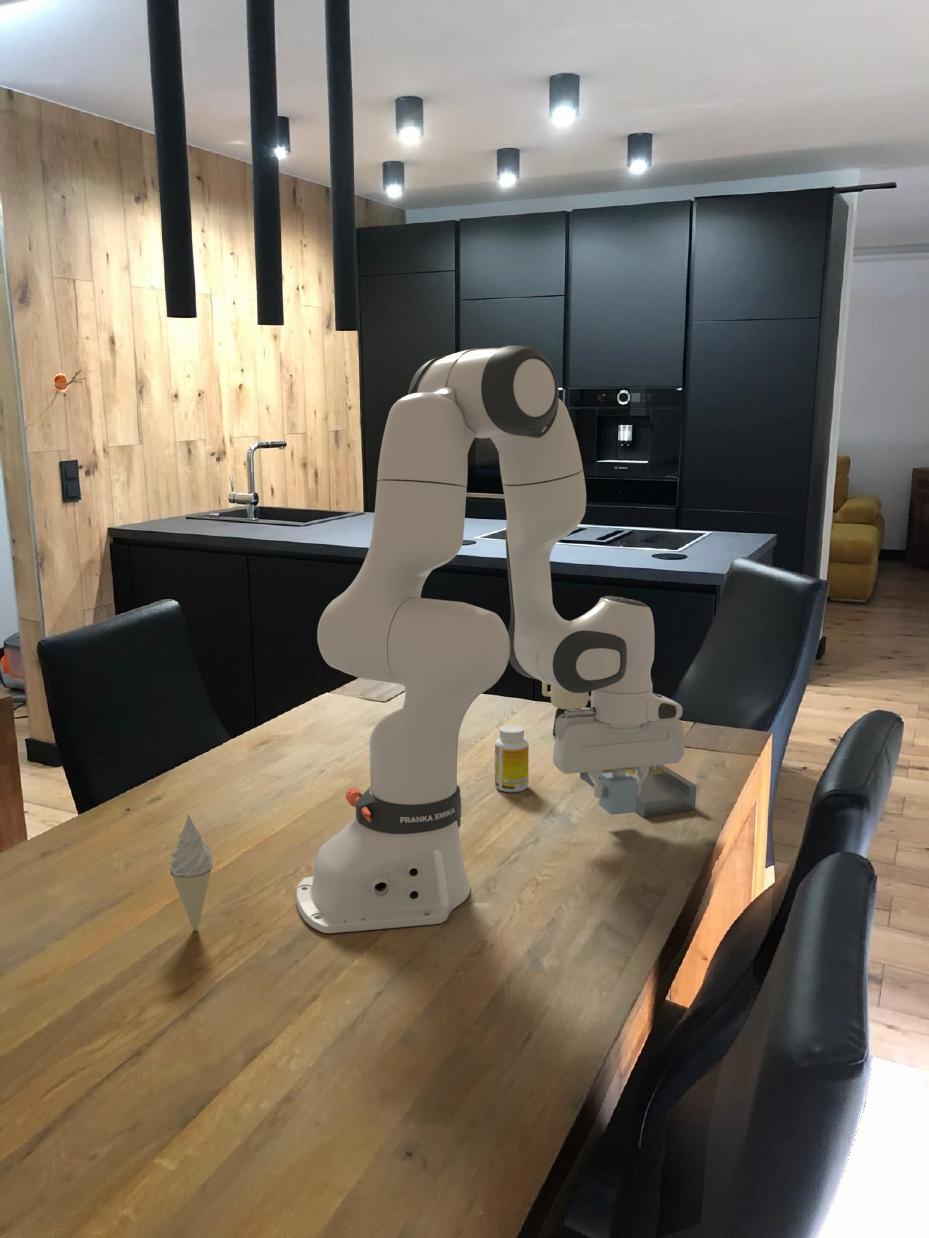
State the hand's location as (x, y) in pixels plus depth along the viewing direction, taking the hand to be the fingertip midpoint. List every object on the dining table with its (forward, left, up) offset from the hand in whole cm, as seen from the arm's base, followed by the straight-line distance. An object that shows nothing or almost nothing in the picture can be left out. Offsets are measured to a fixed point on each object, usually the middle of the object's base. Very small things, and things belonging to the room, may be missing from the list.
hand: (617, 795), depth 149 cm
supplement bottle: (-8, +20, -5) cm, 23 cm away
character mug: (+12, +39, -5) cm, 41 cm away
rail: (+10, +10, -5) cm, 15 cm away
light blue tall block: (0, 0, -2) cm, 2 cm away
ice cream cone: (-62, -9, -5) cm, 63 cm away
